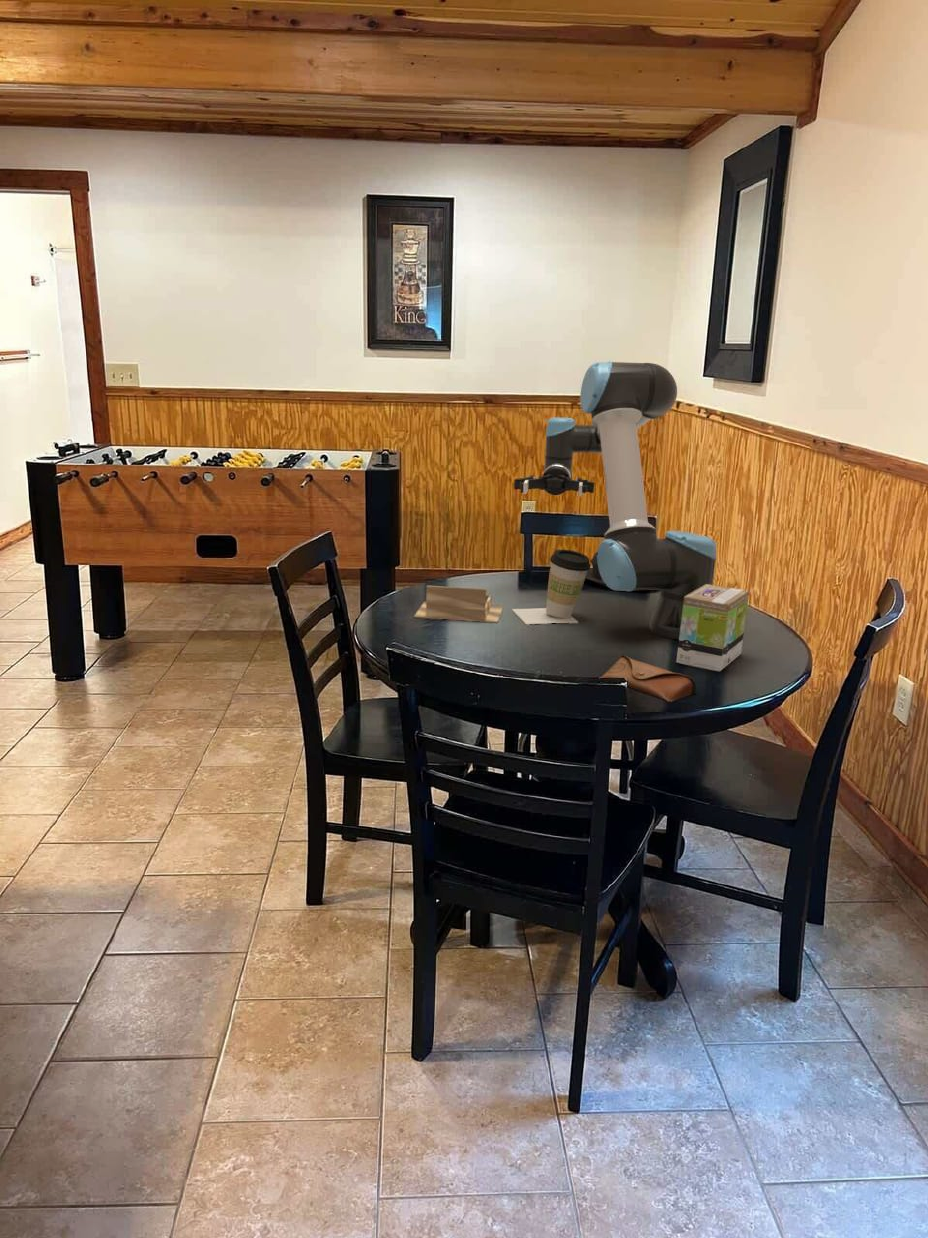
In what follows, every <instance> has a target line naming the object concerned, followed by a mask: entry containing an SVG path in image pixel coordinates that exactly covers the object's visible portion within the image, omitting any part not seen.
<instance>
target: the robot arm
mask: <svg viewBox="0 0 928 1238" xmlns="http://www.w3.org/2000/svg"><path fill="white" fill-rule="evenodd" d="M580 389H581V390H580V397H579V399H580V401H579V403H580V404H579V405H580V408H581V410H582V412H583V413H585V414H586V415H589V414H590V417H591V422H592V423H591V424H588V425H587V424H584V425H583V424H576V422H575V419H574V418H572V417H550V418H549V419H548V420H547V424H546V433H545V459H544V472H543V474H542V476H541V475H540V476H539V477H538V478H536V476H534V475H530V476H527V477H520V478H514V481H513V482H514V484H513V489H514V490H520V493H521V494H523V495H527V493H528V492H529V490H537V489H538V490H541V491H545V492H546V493H547V494H550V495H552V496H559V495H563V494H564V493H566V492H570V491H573V492H574V491H575V492H578V494H577V495H578V497H579V498H581V497H582V495H583V494H586V493H590V494H594V492H595V482H593V481H589V480H588V479H583V478H581V477H577V478H575V479H572V478H573V469H572V468H573V455H574V454H575V453H577V454H579V453H581V454H583V453H584V454H585V453H587V454H591V453H592V454H601V457H602V465H603V475H604V484H605V494H606V500H607V511H608V519H609V528H608V529H607V531H606V532H605V533H604V534H603V535H604V539H603V540H602V541H600V543H599V544H598V548H597V550H596V551H597V552H598V555H597V563H598V568H599V572H600V575H601V577H602V579H603V581H604V583H605V584H606V585H607V586H608V587H607V588H609V589H610V590H613V591H623V592H624V591H625V592H629V593H630V592H633V591H647V590H649V591H652V590H654V591H655V590H659V591H660V593H659V594H660V595H659V599H658V601H657V604H656V606H655V608H654V610H653V613H652V615H651V617H650V622H649V630H650V631H651V632H652V633H653V634H655V635H658V636H661V637H663V638H669V639H673V640H679V636H680V627H681V619H682V611H683V603H684V597H685V596H686V595H688V594H690V593H692V592H693V591H695V590H697V589H698V588H700V587H702V586H704V585H705V584H709V585H714V577H715V568H716V561H717V544H716V542H715V540H713V539H712V538H710V537H708V536H705V535H702V534H698V533H693V532H688V531H687V532H686V531H683V530H682V531H681V530H680V531H679V530H667V531H666V532H665V534H664V538H658V537H657V530H656V527H655V526H654V525H652V524H651V523H649V521H648V520H649V519H648V513H647V502H646V495H645V487H644V485H645V484H644V477H643V469H642V461H641V453H640V452H641V451H640V444H639V435H638V430H639V429H640V428H642V427H643V426H644V425H645V424H647V423H648V422H649V421H652V420H656V419H659V418H661V417H663V416H664V415H665V414H667V413H668V412H669V411H671V409H672V408H673V406H674V404H675V403H676V400H677V396H678V386H677V382H676V380H675V378H674V375H672V374H671V372H670V371H669V370H668V369H667V368H665V367H664V366H661V365H659V364H657V363H653V362H624V361H622V362H620V361H616V362H615V361H611V360H609V361H606V362H605V361H599V362H594V363H592V364H590V366H589V367H588V368H587V370H586V372H585V373H584V377H583V380H582V384H581V387H580Z"/></svg>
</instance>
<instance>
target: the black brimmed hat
mask: <svg viewBox="0 0 928 1238" xmlns="http://www.w3.org/2000/svg"><path fill="white" fill-rule="evenodd" d="M597 555H598V552H595V553H594V554H593V555H592V558H591V559H589V563H590V565H592V566H591V567H590V569H589V570H588V571H587V573H586V576H585V580H588V581H591V582H594V583H597V584H598V585H601V586H604V587H607V588H609V587H608V586H607V585H606V584H605V583H604V581H603V579H602V577H601V575H600V572H599V568H598V563H597Z"/></svg>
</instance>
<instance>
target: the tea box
mask: <svg viewBox="0 0 928 1238" xmlns="http://www.w3.org/2000/svg"><path fill="white" fill-rule="evenodd" d="M749 594H750V591H749V590H745V589H739V588H734V587H733V588H732V587H726V586H722V585H715V584H713V585H709V584H705V585H704V586H702V587H700V588H698V589H697V590H695V591H693V592H692V593H690V594H688V595H686V596H685V597H684V603H683V611H682V619H681V627H680V636H679V639H678V645H677V653H676V661H675V662H676V663H678V664H682V665H686V666H690V667H695V668H699V669H704V670H709V671H715V672H721V671H722V670H723V669H725V668H726V667H727V666H728V665H729V664H731V662H734V661H735V660H736V658H738V657H739V656H740V655H741V653H742V650H743V649H742V648H743V642H744V635H745V627H746V625H745V624H746V621H747V620H746V619H747V611H748V603H749V597H750V595H749Z"/></svg>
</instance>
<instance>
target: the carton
mask: <svg viewBox="0 0 928 1238" xmlns="http://www.w3.org/2000/svg"><path fill="white" fill-rule="evenodd" d="M425 594H426V595H425V596H426V597H425V600H426V601H423V603H422V604H421V606H420V607H419V608H418V610H417V611H416V613H415V614H414V615H413V619H415V618H416V619H427V620H429V619H430V620H442V619H450V620H449V621H457V620H467V621H466V622H472V621H480V622H479V623H488V622H489V624H490V623H491V624H492V623H493V624H498V622H499V620H500V617H501V613H502V612H503V609H504V606H501V605H494V603H493V602H492V600H493V599H492V595H491V594H487V589H486V588H475V587H474V588H472V587H456V586H441V585H438V586H437V585H426V593H425Z"/></svg>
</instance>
